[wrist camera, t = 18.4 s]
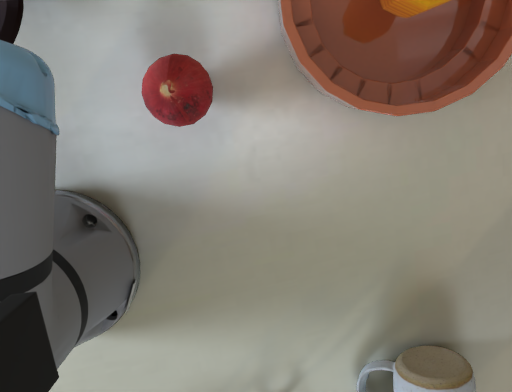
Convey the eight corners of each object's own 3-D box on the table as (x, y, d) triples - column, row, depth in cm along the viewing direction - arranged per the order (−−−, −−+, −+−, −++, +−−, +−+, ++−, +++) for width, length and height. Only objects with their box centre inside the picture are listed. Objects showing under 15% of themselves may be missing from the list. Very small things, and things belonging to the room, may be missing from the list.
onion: (230, 97, 41) (221, 98, 33) (182, 135, 42) (161, 145, 34) (190, 44, 40) (170, 33, 33) (141, 85, 41) (111, 83, 34)
